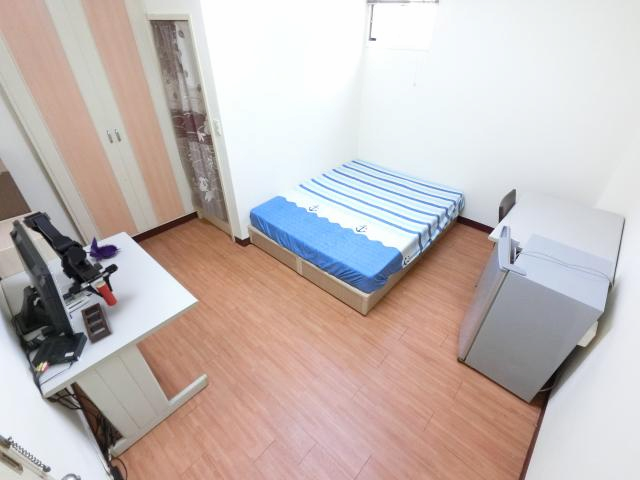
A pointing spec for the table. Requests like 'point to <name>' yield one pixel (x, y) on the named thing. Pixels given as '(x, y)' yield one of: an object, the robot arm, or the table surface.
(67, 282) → the table surface
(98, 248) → the creature
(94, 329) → the brown wooden rack
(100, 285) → the red cylinder
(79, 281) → the robot arm
